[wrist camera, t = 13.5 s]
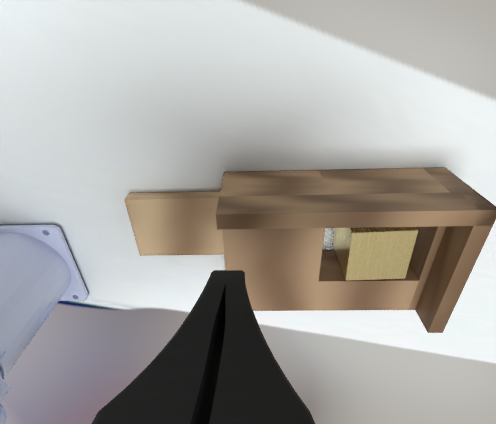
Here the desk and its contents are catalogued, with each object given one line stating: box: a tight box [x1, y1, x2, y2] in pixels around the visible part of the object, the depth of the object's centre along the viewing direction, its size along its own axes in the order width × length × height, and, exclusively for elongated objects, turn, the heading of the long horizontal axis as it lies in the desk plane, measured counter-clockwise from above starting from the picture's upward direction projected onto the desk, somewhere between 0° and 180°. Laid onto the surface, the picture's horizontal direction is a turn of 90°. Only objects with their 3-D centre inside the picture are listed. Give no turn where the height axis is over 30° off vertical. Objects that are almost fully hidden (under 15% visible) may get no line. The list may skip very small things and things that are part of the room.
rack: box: [125, 168, 496, 333], centre depth 22 cm, size 22×10×6 cm, turn 92°
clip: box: [333, 227, 418, 280], centre depth 22 cm, size 4×4×4 cm
